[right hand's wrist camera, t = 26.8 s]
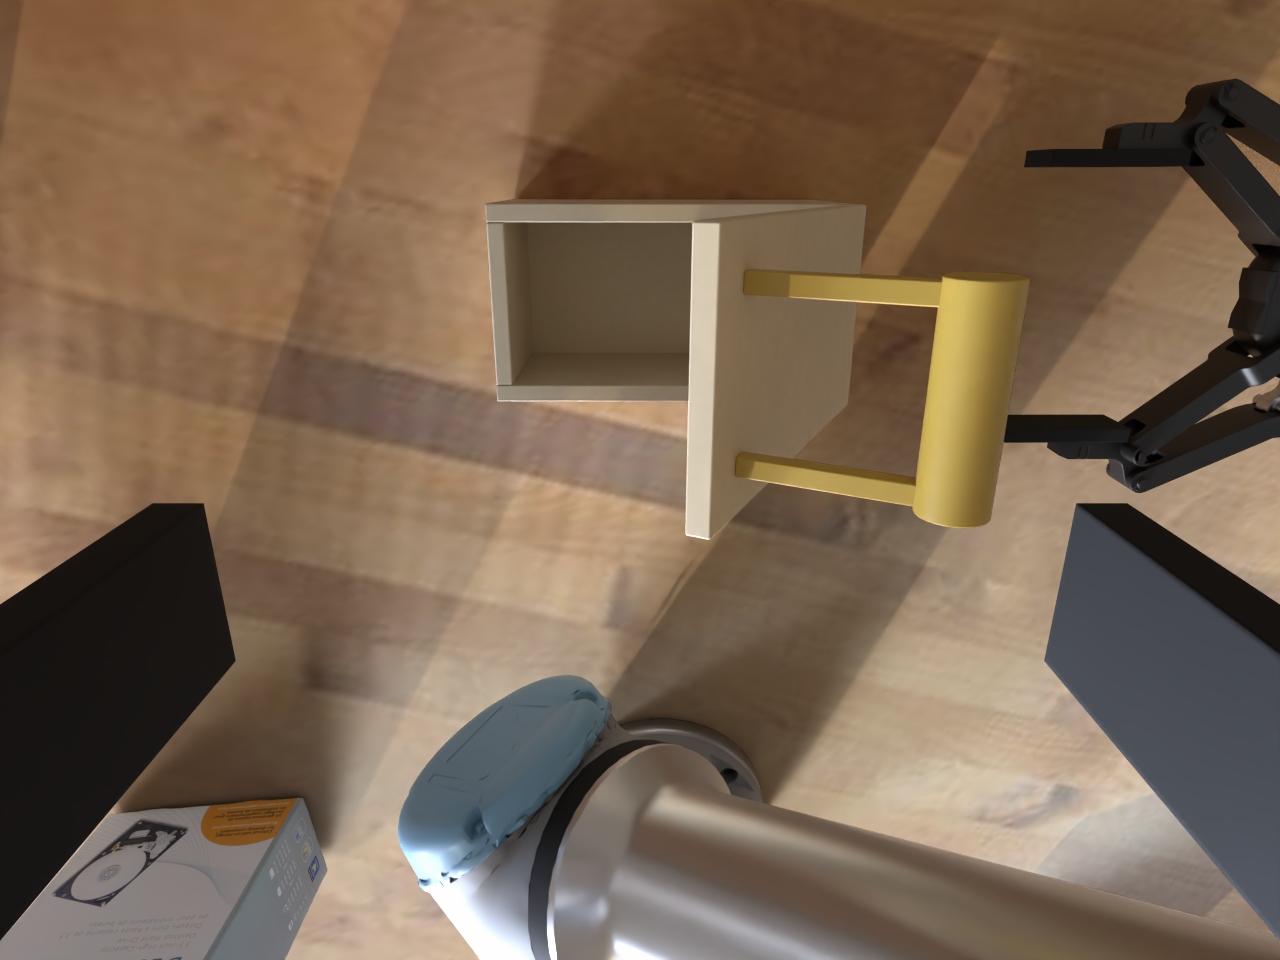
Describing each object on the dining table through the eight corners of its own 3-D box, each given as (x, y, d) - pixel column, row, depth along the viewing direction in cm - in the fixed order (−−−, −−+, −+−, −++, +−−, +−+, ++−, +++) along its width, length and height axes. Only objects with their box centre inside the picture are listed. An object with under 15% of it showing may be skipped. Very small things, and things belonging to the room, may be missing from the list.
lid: (684, 535, 25) (975, 595, 22) (691, 219, 22) (1036, 228, 18) (830, 403, 40) (1016, 425, 37) (847, 204, 37) (1053, 206, 33)
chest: (521, 363, 49) (497, 401, 41) (513, 199, 46) (484, 203, 37) (803, 364, 49) (837, 401, 41) (815, 199, 46) (854, 203, 37)
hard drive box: (305, 791, 60) (154, 1067, 41) (331, 869, 63) (200, 1161, 44) (104, 811, 61) (-134, 1091, 42) (138, 887, 63) (-71, 1183, 45)
